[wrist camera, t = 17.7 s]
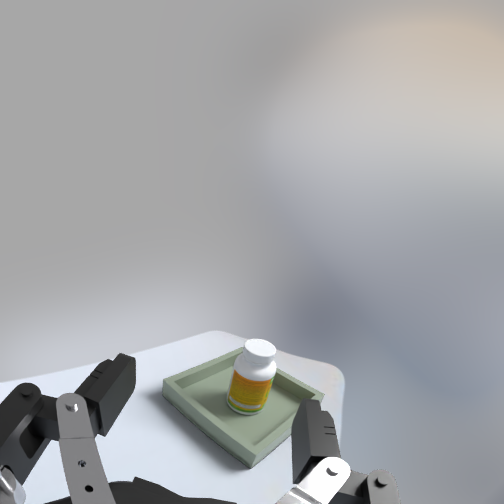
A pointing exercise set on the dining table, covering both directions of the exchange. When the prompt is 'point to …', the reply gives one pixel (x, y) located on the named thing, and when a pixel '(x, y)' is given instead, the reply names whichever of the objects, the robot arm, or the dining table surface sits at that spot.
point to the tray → (229, 421)
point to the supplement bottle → (252, 377)
